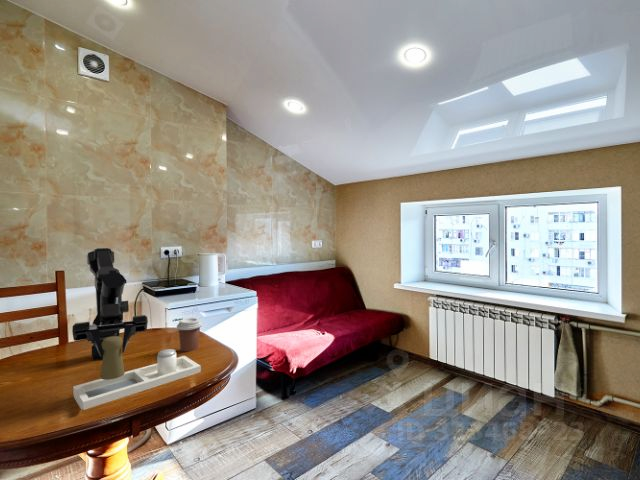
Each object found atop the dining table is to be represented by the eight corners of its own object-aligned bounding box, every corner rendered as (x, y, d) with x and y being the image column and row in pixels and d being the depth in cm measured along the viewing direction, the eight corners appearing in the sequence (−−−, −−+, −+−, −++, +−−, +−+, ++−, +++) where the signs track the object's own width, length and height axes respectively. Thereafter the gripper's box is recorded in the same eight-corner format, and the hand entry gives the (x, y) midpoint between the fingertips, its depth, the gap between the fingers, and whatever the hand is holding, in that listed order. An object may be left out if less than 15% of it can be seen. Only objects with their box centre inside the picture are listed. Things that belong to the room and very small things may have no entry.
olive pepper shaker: (104, 381, 93) (103, 342, 93) (97, 375, 97) (96, 337, 97) (128, 374, 98) (127, 337, 97) (120, 368, 102) (119, 332, 101)
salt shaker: (176, 369, 112) (176, 347, 112) (176, 376, 107) (176, 353, 107) (157, 372, 110) (157, 350, 110) (157, 379, 105) (156, 356, 104)
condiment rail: (184, 364, 119) (184, 355, 119) (200, 374, 110) (200, 365, 110) (73, 396, 96) (73, 386, 96) (83, 413, 87) (83, 402, 87)
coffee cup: (171, 353, 129) (171, 321, 128) (189, 345, 137) (188, 316, 137) (190, 356, 125) (189, 324, 125) (207, 348, 134) (206, 318, 133)
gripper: (72, 295, 95) (69, 346, 86) (146, 289, 105) (151, 334, 96) (74, 316, 102) (72, 365, 93) (144, 308, 112) (148, 352, 103)
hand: (112, 353), depth 96 cm, fingers closed on olive pepper shaker, 5 cm apart
